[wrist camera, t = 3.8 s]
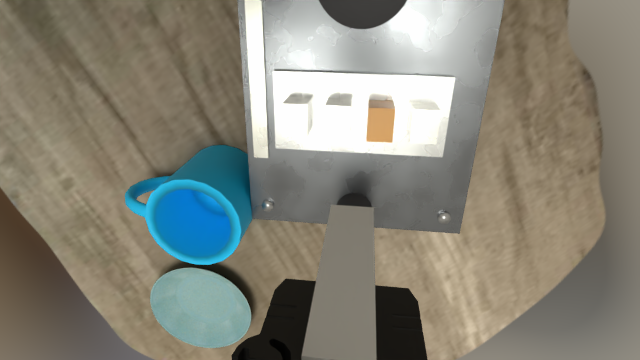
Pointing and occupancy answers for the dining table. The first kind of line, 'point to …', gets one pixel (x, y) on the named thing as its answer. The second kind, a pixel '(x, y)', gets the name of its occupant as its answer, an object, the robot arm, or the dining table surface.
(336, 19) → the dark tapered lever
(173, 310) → the saucer
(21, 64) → the dining table surface
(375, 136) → the orange cube
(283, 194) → the breaker panel
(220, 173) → the mug
